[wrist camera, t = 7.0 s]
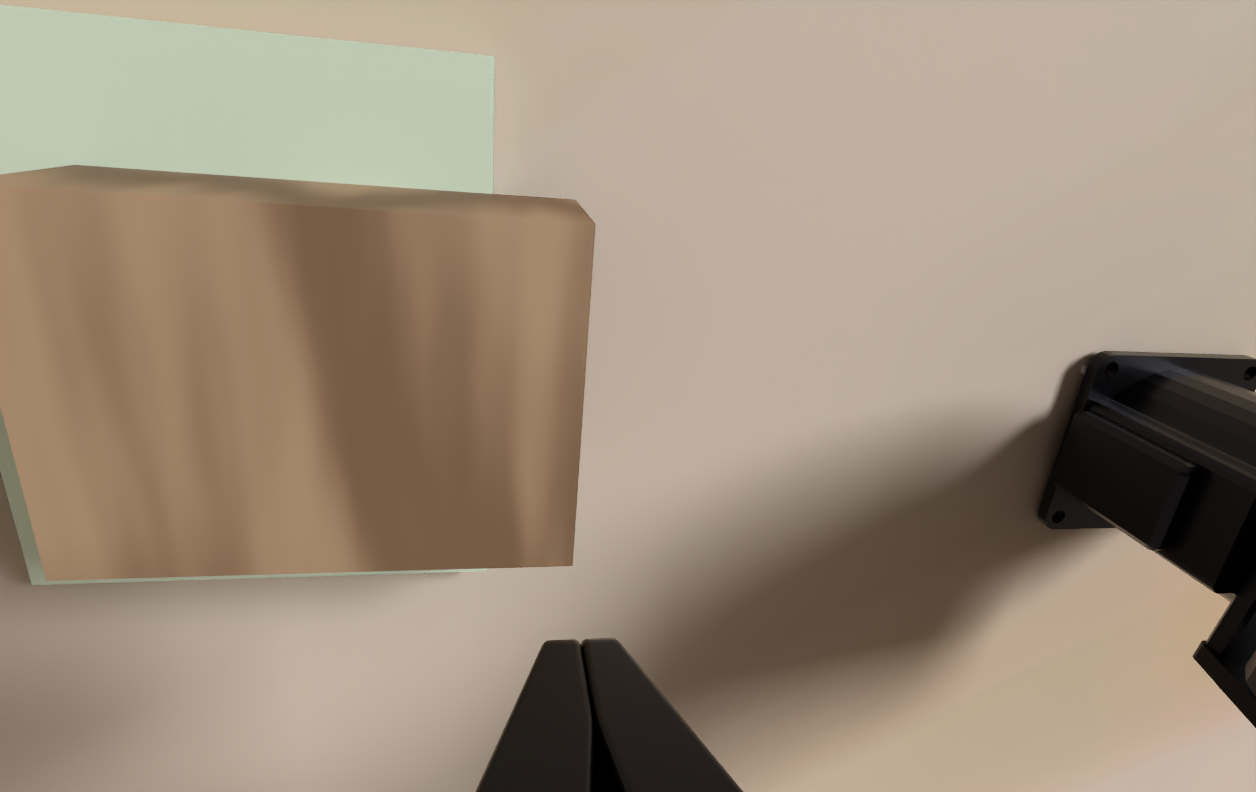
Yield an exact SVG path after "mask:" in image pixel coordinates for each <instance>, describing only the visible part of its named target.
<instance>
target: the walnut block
mask: <svg viewBox="0 0 1256 792" xmlns="http://www.w3.org/2000/svg"><path fill="white" fill-rule="evenodd" d="M594 237H595V223H594V222H593V220H592V219H591V218H590V217H589V216H588V214H587V213H586V212H585V211H584V210H583V208H582V207H581V206H580V205H579V204H578V202H577V201H576V200H571V199H557V198H543V197H528V196H514V195H500V194H485V193H471V192H457V191H442V190H428V189H414V188H399V187H385V186H371V185H357V184H342V183H328V182H314V181H299V180H285V179H271V178H256V177H242V176H228V175H213V174H199V173H185V172H170V171H156V170H142V169H127V168H113V167H99V166H84V165H69V166H62V167H54V168H46V169H39V170H31V171H23V172H16V173H8V174H0V407H1V411H2V415H3V419H4V423H5V426H6V430H7V434H8V438H9V442H10V445H11V449H12V453H13V457H14V461H15V464H16V468H17V472H18V476H19V480H20V483H21V487H22V491H23V495H24V498H25V502H26V506H27V510H28V514H29V517H30V521H31V525H32V529H33V533H34V536H35V540H36V544H37V548H38V552H39V555H40V559H41V563H42V567H43V570H44V574H45V578H46V581H60V580H95V579H130V578H165V577H200V576H235V575H270V574H306V573H341V572H376V571H411V570H446V569H481V568H516V567H551V566H572V564H573V549H574V534H575V520H576V505H577V490H578V475H579V460H580V445H581V430H582V416H583V401H584V386H585V371H586V356H587V341H588V326H589V312H590V297H591V282H592V267H593V252H594Z"/></svg>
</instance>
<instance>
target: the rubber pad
mask: <svg viewBox="0 0 1256 792" xmlns="http://www.w3.org/2000/svg"><path fill="white" fill-rule="evenodd" d="M493 124H494V56H489V55H479V54H470V53H460V52H451V51H441V50H431V49H422V48H412V47H403V46H393V45H383V44H374V43H364V42H354V41H345V40H335V39H326V38H316V37H306V36H297V35H287V34H277V33H268V32H258V31H249V30H239V29H229V28H220V27H210V26H201V25H191V24H181V23H172V22H162V21H152V20H143V19H133V18H124V17H114V16H104V15H95V14H85V13H75V12H66V11H56V10H47V9H37V8H27V7H18V6H8V5H0V174H8V173H16V172H23V171H31V170H39V169H46V168H54V167H62V166H69V165H84V166H99V167H113V168H127V169H142V170H156V171H170V172H185V173H199V174H213V175H228V176H242V177H256V178H271V179H285V180H299V181H314V182H328V183H342V184H357V185H371V186H385V187H399V188H414V189H428V190H442V191H457V192H471V193H485V194H493ZM0 472H1V476H2V479H3V483H4V487H5V490H6V494H7V498H8V501H9V505H10V508H11V512H12V516H13V519H14V523H15V526H16V530H17V534H18V537H19V541H20V545H21V548H22V552H23V555H24V559H25V563H26V566H27V570H28V573H29V577H30V581H31V584H32V585H54V584H87V583H119V582H151V581H184V580H216V579H248V578H281V577H313V576H346V575H378V574H410V573H443V572H475V571H488V568H481V569H446V570H411V571H376V572H341V573H306V574H270V575H235V576H200V577H165V578H130V579H95V580H60V581H46V578H45V574H44V570H43V567H42V563H41V559H40V555H39V552H38V548H37V544H36V540H35V536H34V533H33V529H32V525H31V521H30V517H29V514H28V510H27V506H26V502H25V498H24V495H23V491H22V487H21V483H20V480H19V476H18V472H17V468H16V464H15V461H14V457H13V453H12V449H11V445H10V442H9V438H8V434H7V430H6V426H5V423H4V419H3V415H2V411H1V407H0Z"/></svg>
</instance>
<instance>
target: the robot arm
mask: <svg viewBox="0 0 1256 792" xmlns="http://www.w3.org/2000/svg"><path fill="white" fill-rule="evenodd" d="M1107 365H1108V367H1107V369H1106V370H1105V371H1104V369H1105V367H1106V366H1107ZM1255 389H1256V359H1255V358H1252V357H1249V356H1245V355H1216V354H1184V353H1153V352H1121V351H1104V352H1100V353H1098V354H1097V355H1095V356H1094V357H1093V358H1092V359H1091V361H1090V363H1089V365H1088V368H1087V370H1086V373H1085V376H1084V379H1083V382H1082V385H1081V388H1080V391H1079V394H1078V397H1077V399H1076V402H1075V405H1074V408H1073V411H1072V414H1071V417H1070V420H1069V423H1068V426H1067V429H1066V431H1065V434H1064V437H1063V440H1062V443H1061V446H1060V449H1059V452H1058V455H1057V458H1056V460H1055V463H1054V466H1053V469H1052V472H1051V475H1050V478H1049V481H1048V484H1047V487H1046V490H1045V492H1044V495H1043V498H1042V501H1041V504H1040V507H1039V510H1038V515H1037V516H1038V519H1039V520H1040V521H1041V522H1042V523H1043V524H1045V525H1046V526H1047V527H1049V528H1051V529H1080V528H1118V529H1119V530H1121V531H1122V532H1124V533H1125V534H1127V535H1128V536H1130V537H1131V538H1133V539H1134V540H1135V541H1137V542H1138V543H1140V544H1141V545H1143V546H1144V547H1146V548H1147V549H1149V550H1152V551H1154V552H1155V553H1157V554H1158V555H1160V556H1161V557H1163V558H1164V559H1166V560H1167V561H1169V562H1170V563H1172V564H1173V565H1175V566H1176V567H1178V568H1179V569H1181V570H1182V571H1184V572H1185V573H1186V574H1188V575H1189V576H1191V577H1192V578H1194V579H1195V580H1197V581H1198V582H1200V583H1201V584H1203V585H1204V586H1206V587H1207V588H1209V589H1210V590H1212V591H1213V592H1215V593H1218V594H1220V595H1221V596H1223V597H1224V598H1226V599H1227V600H1229V601H1230V602H1231V603H1230V604H1229V606H1228V607H1227V609H1226V611H1225V612H1224V614H1223V615H1222V617H1221V619H1220V620H1219V622H1218V623H1217V625H1216V627H1215V628H1214V630H1213V631H1212V633H1211V635H1210V636H1209V638H1208V640H1207V641H1202V642H1201V643H1200V645H1199V646H1198V648H1197V650H1196V651H1195V653H1194V654H1193V658H1194V659H1195V660H1196V661H1197V662H1198V664H1199V665H1200V666H1201V667H1202V668H1203V669H1204V670H1205V671H1206V673H1207V674H1208V675H1209V676H1210V677H1211V678H1212V679H1213V680H1214V682H1215V683H1216V684H1217V685H1218V686H1219V688H1220V689H1221V690H1222V691H1223V692H1224V693H1225V694H1226V695H1227V696H1228V698H1229V699H1230V700H1231V701H1232V702H1233V703H1234V704H1235V705H1236V706H1237V708H1238V709H1239V710H1240V711H1241V712H1242V713H1243V714H1244V715H1245V716H1246V718H1247V719H1248V720H1249V721H1250V722H1251V723H1252V724H1253V725H1254V726H1255V728H1256V393H1255V392H1254V391H1255ZM1054 513H1055V514H1054ZM476 792H743V791H742V790H741V789H740V787H739V786H738V785H737V784H736V783H735V781H734V780H733V779H732V778H731V776H730V775H729V774H728V773H727V772H726V770H725V769H724V768H723V767H722V766H721V764H720V763H719V762H718V761H717V760H716V758H715V757H714V756H713V755H712V753H711V752H710V751H709V750H708V749H707V747H706V746H705V745H704V744H703V743H702V741H701V740H700V739H699V738H698V737H697V735H696V734H695V733H694V732H693V730H692V729H691V728H690V727H689V726H688V724H687V723H686V722H685V721H684V720H683V718H682V717H681V716H680V715H679V714H678V712H677V711H676V710H675V709H674V708H673V706H672V705H671V704H670V703H669V701H668V700H667V699H666V698H665V697H664V695H663V694H662V693H661V692H660V691H659V689H658V688H657V687H656V686H655V685H654V683H653V682H652V681H651V680H650V678H649V677H648V676H647V675H646V674H645V672H644V671H643V670H642V669H641V668H640V666H639V665H638V664H637V663H636V662H635V660H634V659H633V658H632V657H631V656H630V654H629V653H628V652H627V651H626V649H625V648H624V647H623V646H622V645H621V643H620V642H619V641H618V640H616V639H614V638H599V639H585V640H584V641H583V642H582V643H581V645H580V643H579V642H578V641H577V640H574V639H573V640H549V641H546V642H545V643H544V644H543V645H542V647H541V649H540V651H539V654H538V656H537V658H536V660H535V662H534V665H533V667H532V669H531V671H530V673H529V676H528V678H527V680H526V682H525V684H524V687H523V689H522V691H521V693H520V695H519V697H518V700H517V702H516V704H515V706H514V708H513V711H512V713H511V715H510V717H509V719H508V722H507V724H506V726H505V728H504V730H503V733H502V735H501V737H500V739H499V741H498V743H497V746H496V748H495V750H494V752H493V754H492V757H491V759H490V761H489V763H488V765H487V768H486V770H485V772H484V774H483V776H482V779H481V781H480V783H479V785H478V787H477V789H476Z"/></svg>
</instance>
